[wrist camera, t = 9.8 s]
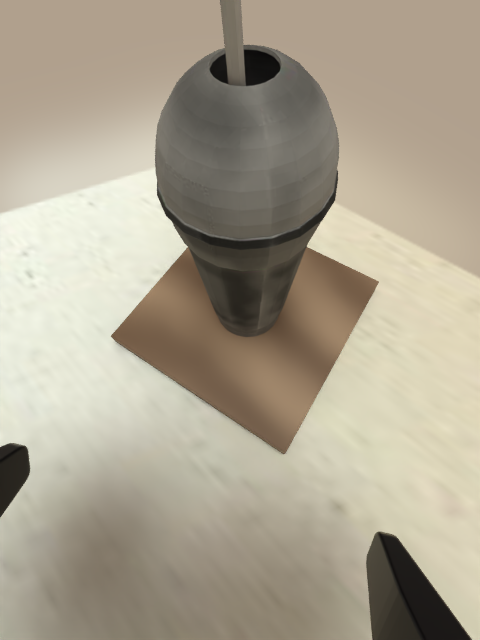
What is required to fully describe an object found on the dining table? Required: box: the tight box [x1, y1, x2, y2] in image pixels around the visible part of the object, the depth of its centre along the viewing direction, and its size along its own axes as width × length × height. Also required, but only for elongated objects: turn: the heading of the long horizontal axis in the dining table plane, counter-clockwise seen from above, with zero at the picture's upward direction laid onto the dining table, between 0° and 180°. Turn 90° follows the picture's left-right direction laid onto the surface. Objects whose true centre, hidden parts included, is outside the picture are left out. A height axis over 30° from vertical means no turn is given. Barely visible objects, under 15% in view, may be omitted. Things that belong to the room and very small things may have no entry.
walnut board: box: [111, 247, 379, 454], centre depth 24 cm, size 14×14×1 cm
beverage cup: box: [155, 0, 339, 337], centre depth 14 cm, size 7×7×20 cm
